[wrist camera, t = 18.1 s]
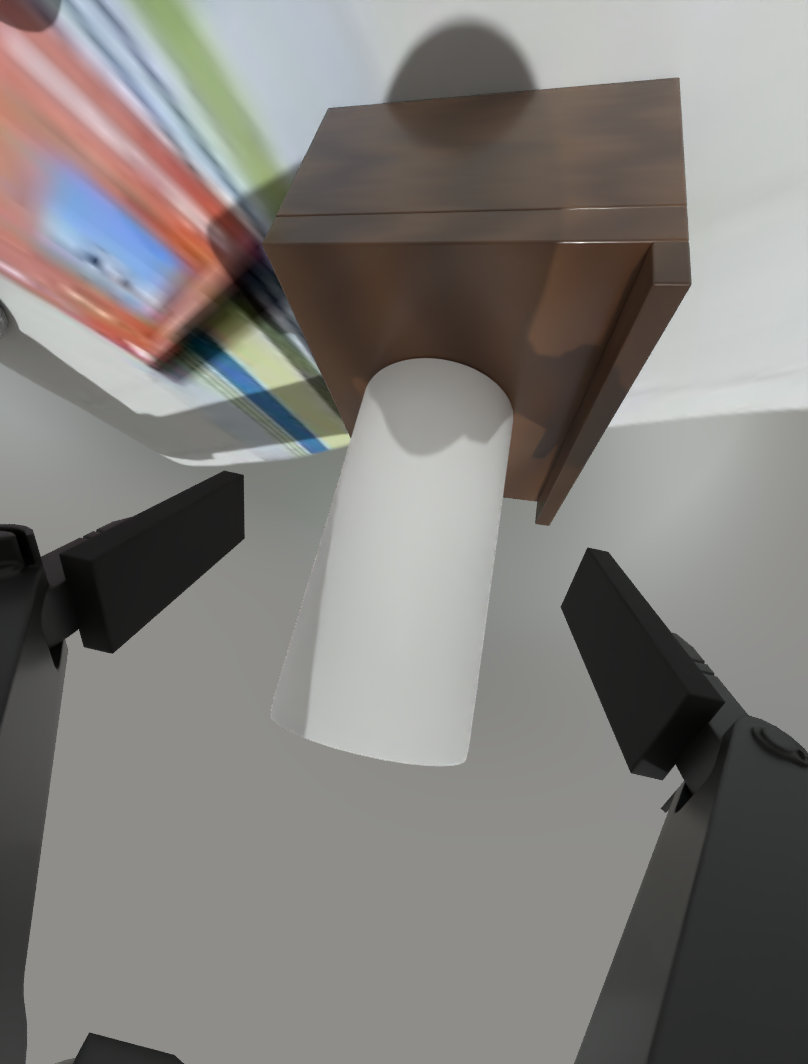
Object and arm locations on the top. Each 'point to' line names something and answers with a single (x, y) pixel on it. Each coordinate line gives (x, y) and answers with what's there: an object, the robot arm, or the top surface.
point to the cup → (403, 571)
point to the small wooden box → (495, 254)
